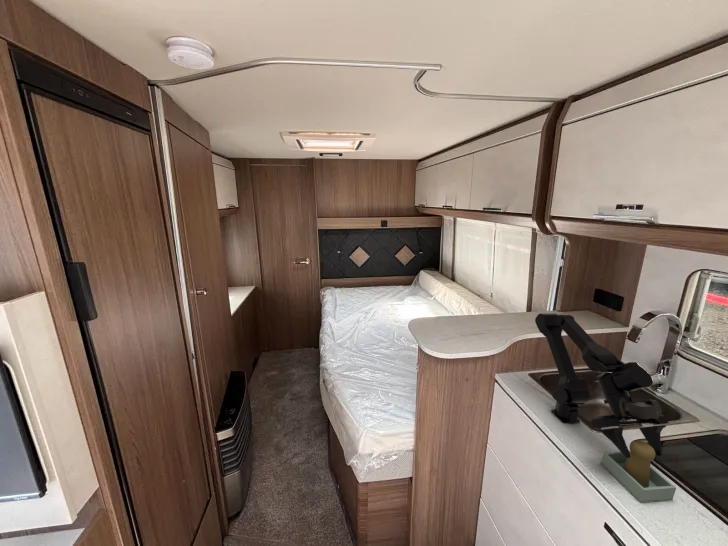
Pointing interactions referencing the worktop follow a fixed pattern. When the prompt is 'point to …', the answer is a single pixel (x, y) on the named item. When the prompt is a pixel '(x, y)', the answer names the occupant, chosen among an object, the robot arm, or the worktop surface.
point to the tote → (657, 483)
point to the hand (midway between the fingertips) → (644, 456)
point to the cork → (639, 462)
